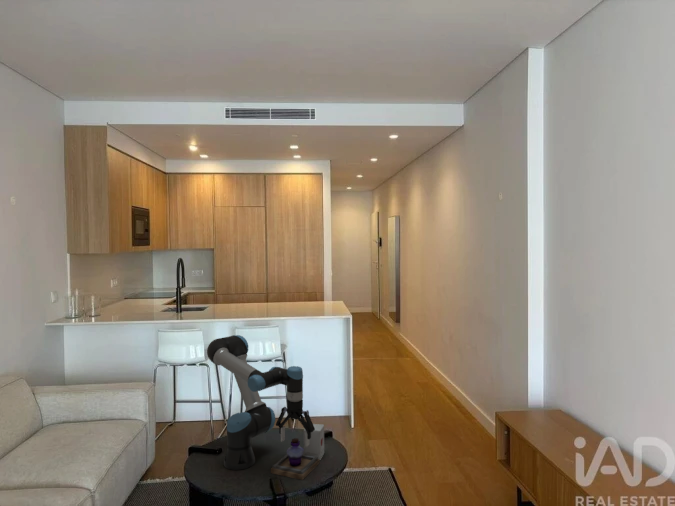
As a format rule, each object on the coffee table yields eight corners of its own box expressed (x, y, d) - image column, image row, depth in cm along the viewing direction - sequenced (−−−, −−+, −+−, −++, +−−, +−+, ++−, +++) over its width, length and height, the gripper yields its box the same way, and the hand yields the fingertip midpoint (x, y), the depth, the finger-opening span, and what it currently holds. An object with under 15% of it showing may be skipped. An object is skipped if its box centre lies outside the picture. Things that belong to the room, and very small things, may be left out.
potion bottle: (302, 458, 229) (302, 434, 229) (306, 466, 221) (305, 441, 221) (285, 461, 227) (284, 436, 227) (288, 469, 219) (287, 443, 218)
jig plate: (270, 473, 219) (270, 466, 219) (289, 457, 236) (289, 451, 236) (302, 479, 212) (302, 473, 212) (319, 463, 229) (319, 456, 229)
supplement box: (320, 460, 231) (320, 431, 231) (303, 459, 233) (303, 429, 233) (324, 452, 240) (324, 424, 240) (308, 451, 242) (307, 423, 242)
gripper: (268, 398, 225) (268, 441, 226) (314, 405, 215) (314, 450, 216) (276, 393, 232) (276, 435, 232) (321, 400, 222) (321, 444, 222)
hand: (295, 443), depth 224 cm, fingers open, 13 cm apart
